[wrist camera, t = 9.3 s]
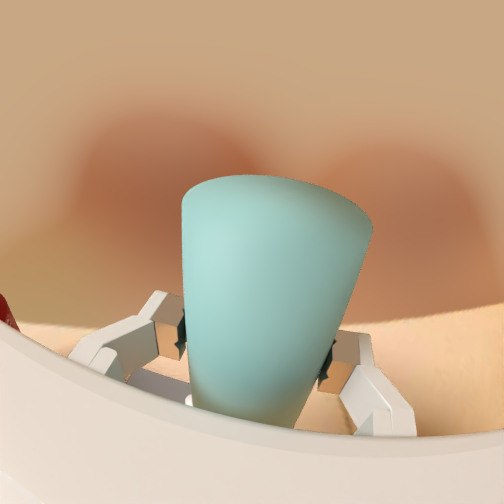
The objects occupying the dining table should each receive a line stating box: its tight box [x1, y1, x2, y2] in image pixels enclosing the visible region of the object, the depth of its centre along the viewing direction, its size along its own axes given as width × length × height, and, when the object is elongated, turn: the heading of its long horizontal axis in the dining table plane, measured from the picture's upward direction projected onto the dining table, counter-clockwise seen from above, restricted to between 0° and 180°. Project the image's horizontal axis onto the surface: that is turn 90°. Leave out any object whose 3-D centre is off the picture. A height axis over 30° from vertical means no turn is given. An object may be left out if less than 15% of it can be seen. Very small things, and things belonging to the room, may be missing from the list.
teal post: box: [182, 175, 373, 429], centre depth 11 cm, size 5×5×11 cm
